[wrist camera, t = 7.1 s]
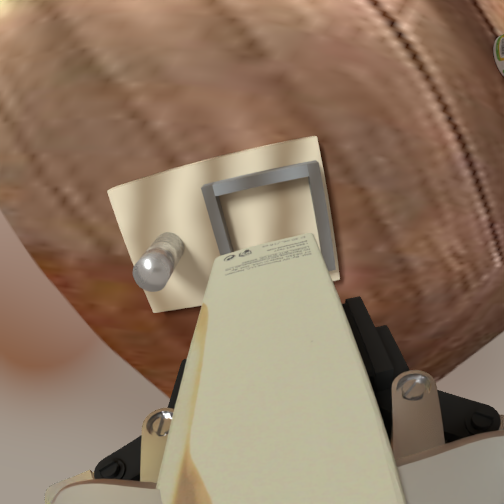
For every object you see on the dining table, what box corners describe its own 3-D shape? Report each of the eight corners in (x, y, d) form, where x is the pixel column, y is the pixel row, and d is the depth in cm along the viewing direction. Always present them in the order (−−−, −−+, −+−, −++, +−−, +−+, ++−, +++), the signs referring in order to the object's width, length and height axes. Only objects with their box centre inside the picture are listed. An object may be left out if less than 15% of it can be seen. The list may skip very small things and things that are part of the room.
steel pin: (178, 229, 29) (160, 255, 24) (188, 257, 31) (172, 288, 25) (150, 235, 30) (127, 262, 24) (160, 263, 31) (140, 294, 25)
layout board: (314, 135, 27) (320, 137, 24) (336, 272, 32) (343, 287, 30) (113, 187, 29) (100, 194, 27) (157, 305, 35) (149, 320, 32)
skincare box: (212, 254, 13) (108, 587, 2) (314, 227, 13) (435, 582, 1) (255, 366, 16) (243, 610, 4) (338, 347, 15) (393, 592, 4)
